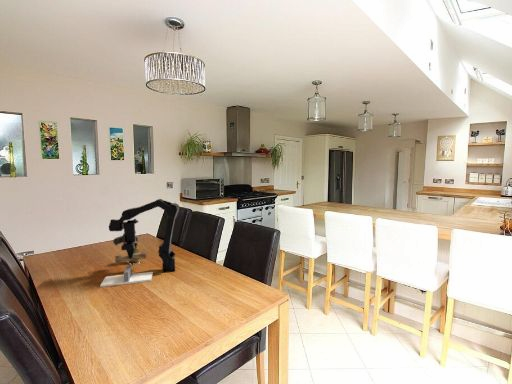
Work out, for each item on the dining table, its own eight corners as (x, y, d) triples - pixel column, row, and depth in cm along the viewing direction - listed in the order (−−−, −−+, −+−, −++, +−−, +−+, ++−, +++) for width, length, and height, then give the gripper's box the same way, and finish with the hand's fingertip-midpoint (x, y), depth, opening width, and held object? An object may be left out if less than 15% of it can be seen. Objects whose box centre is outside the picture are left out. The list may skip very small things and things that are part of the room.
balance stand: (152, 273, 156) (152, 263, 156) (151, 281, 146) (150, 270, 145) (106, 278, 150) (105, 267, 149) (100, 286, 139) (99, 275, 139)
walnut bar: (145, 256, 164) (145, 251, 164) (146, 258, 161) (145, 253, 161) (115, 261, 157) (115, 256, 157) (115, 262, 154) (115, 257, 154)
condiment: (138, 259, 180) (137, 241, 179) (142, 263, 173) (141, 244, 172) (126, 262, 175) (125, 243, 174) (129, 265, 169) (128, 246, 168)
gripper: (117, 228, 164) (119, 253, 166) (110, 236, 146) (111, 264, 148) (137, 227, 167) (138, 252, 169) (132, 234, 149) (134, 262, 151)
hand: (131, 257), depth 159 cm, fingers closed on walnut bar, 3 cm apart
